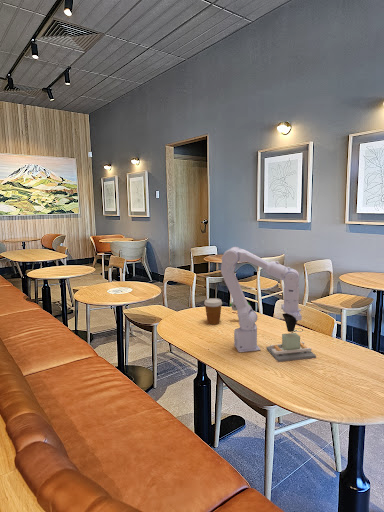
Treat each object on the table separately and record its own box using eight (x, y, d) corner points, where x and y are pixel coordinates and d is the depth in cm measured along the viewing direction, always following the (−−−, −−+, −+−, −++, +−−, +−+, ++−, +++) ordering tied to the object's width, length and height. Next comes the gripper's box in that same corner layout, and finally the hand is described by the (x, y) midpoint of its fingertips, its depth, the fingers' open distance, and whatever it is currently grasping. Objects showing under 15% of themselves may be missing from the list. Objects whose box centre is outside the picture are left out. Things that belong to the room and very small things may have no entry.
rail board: (277, 361, 131) (278, 354, 131) (266, 348, 143) (266, 342, 142) (315, 357, 134) (316, 350, 133) (301, 345, 145) (301, 338, 145)
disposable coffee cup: (202, 320, 179) (201, 299, 177) (218, 318, 182) (218, 297, 180) (208, 326, 170) (207, 304, 168) (225, 324, 173) (225, 302, 171)
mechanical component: (250, 321, 175) (249, 303, 174) (230, 322, 176) (230, 303, 174) (249, 319, 178) (249, 301, 177) (229, 320, 178) (229, 302, 177)
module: (286, 351, 136) (286, 337, 135) (282, 347, 140) (282, 334, 139) (300, 350, 137) (300, 336, 136) (295, 346, 140) (295, 332, 139)
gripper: (309, 303, 128) (308, 337, 131) (292, 293, 143) (291, 324, 145) (292, 305, 127) (291, 338, 130) (276, 294, 142) (276, 325, 144)
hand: (290, 331), depth 137 cm, fingers closed
